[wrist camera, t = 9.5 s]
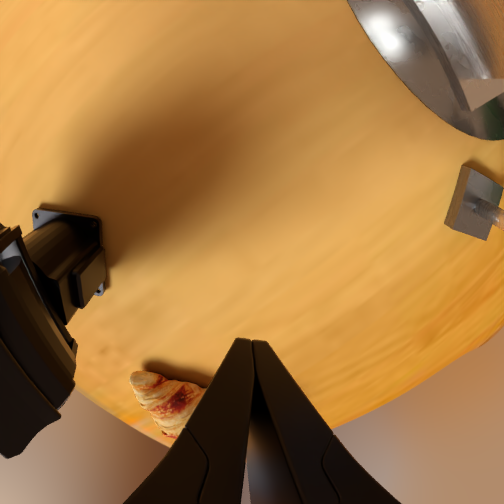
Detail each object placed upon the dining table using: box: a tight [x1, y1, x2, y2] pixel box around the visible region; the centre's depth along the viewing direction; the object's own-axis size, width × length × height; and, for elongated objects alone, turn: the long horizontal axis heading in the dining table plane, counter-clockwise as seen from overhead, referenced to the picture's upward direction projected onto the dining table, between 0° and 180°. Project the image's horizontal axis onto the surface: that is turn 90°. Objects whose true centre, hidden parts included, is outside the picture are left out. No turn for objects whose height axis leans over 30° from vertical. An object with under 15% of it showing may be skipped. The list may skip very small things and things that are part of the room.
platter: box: [347, 0, 504, 140], centre depth 11 cm, size 24×24×1 cm
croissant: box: [129, 371, 247, 462], centre depth 26 cm, size 21×10×8 cm, turn 47°
